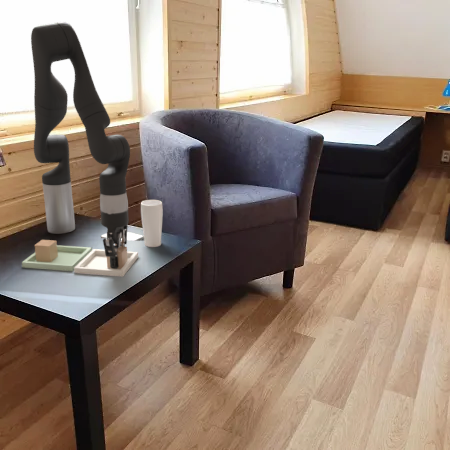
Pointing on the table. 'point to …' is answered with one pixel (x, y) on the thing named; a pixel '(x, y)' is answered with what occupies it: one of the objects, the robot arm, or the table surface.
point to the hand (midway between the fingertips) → (117, 264)
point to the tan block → (120, 257)
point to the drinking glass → (152, 222)
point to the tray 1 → (60, 259)
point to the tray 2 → (103, 264)
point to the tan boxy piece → (46, 250)
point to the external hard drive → (129, 236)
